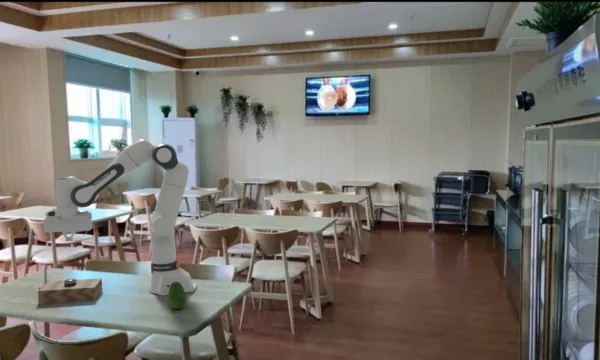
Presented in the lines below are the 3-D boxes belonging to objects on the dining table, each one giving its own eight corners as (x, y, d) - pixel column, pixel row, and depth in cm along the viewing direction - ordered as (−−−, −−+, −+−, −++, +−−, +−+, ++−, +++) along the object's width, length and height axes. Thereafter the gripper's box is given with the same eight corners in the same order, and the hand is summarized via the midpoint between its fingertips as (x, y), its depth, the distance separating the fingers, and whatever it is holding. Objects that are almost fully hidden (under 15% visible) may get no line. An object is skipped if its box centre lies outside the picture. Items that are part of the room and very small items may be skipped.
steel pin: (78, 294, 219) (77, 278, 218) (74, 297, 214) (74, 281, 213) (66, 294, 218) (66, 278, 217) (63, 298, 213) (62, 282, 212)
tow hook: (49, 285, 234) (36, 290, 225) (49, 260, 234) (36, 264, 224) (64, 286, 233) (52, 291, 224) (64, 261, 232) (52, 265, 223)
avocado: (170, 305, 204) (169, 279, 203) (187, 305, 204) (187, 278, 203) (166, 312, 196) (165, 285, 195) (184, 311, 196) (183, 284, 195)
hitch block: (102, 290, 225) (101, 278, 224) (95, 300, 211) (94, 287, 211) (49, 293, 220) (48, 281, 220) (38, 303, 207) (37, 290, 206)
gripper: (93, 209, 217) (94, 238, 219) (46, 211, 213) (48, 240, 215) (89, 211, 211) (91, 241, 212) (41, 213, 207) (43, 243, 208)
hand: (69, 240), depth 213 cm, fingers closed
